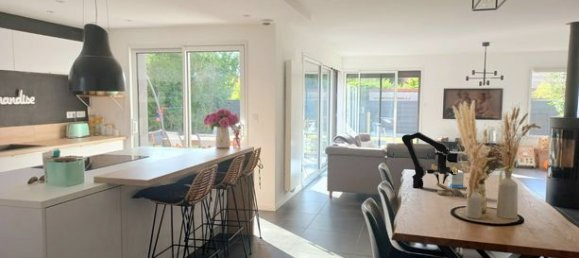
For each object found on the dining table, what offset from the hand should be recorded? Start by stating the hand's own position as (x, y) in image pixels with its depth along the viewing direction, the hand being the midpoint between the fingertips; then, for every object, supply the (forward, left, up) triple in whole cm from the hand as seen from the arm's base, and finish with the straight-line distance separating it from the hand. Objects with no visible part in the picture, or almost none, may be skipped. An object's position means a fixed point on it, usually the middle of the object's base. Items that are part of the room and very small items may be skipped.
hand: (440, 183), depth 280 cm
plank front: (+1, -11, -4) cm, 12 cm away
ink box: (+12, +15, -5) cm, 20 cm away
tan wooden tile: (+9, -6, -4) cm, 12 cm away
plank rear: (+2, 0, -3) cm, 3 cm away
